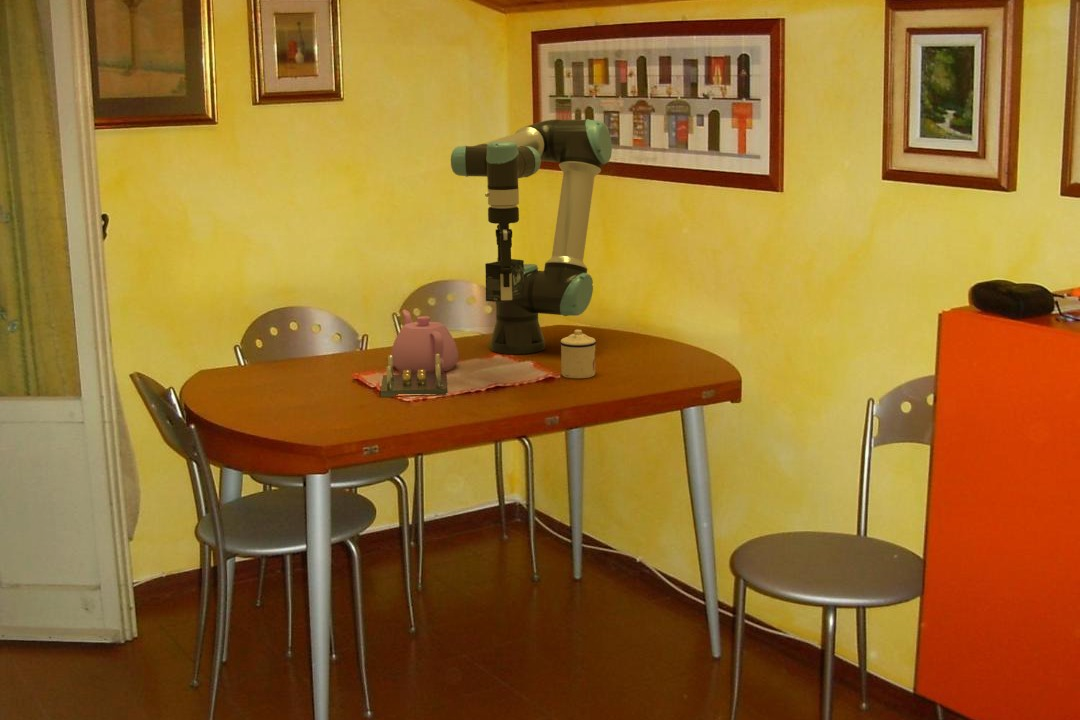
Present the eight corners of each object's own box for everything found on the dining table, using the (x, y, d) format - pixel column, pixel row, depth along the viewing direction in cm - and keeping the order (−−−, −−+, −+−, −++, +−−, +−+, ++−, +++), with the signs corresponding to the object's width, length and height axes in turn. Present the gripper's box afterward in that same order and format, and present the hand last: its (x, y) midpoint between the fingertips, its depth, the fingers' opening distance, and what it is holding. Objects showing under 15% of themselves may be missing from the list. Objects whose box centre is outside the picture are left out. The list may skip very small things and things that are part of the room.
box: (503, 303, 322) (503, 265, 320) (485, 301, 325) (484, 263, 323) (525, 297, 330) (524, 259, 328) (506, 295, 333) (505, 257, 331)
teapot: (474, 372, 342) (473, 320, 339) (411, 381, 333) (408, 328, 330) (434, 354, 363) (433, 305, 360) (374, 361, 355) (372, 311, 352)
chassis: (383, 380, 334) (382, 353, 332) (446, 378, 335) (446, 351, 334) (380, 397, 318) (379, 368, 317) (447, 394, 320) (446, 366, 318)
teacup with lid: (601, 377, 335) (601, 332, 332) (568, 380, 332) (567, 335, 329) (583, 367, 346) (583, 323, 343) (551, 370, 342) (550, 326, 340)
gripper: (485, 201, 333) (488, 288, 338) (489, 212, 311) (492, 305, 316) (515, 200, 334) (517, 287, 339) (521, 211, 312) (523, 304, 317)
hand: (505, 295), depth 327 cm, fingers closed on box, 10 cm apart
